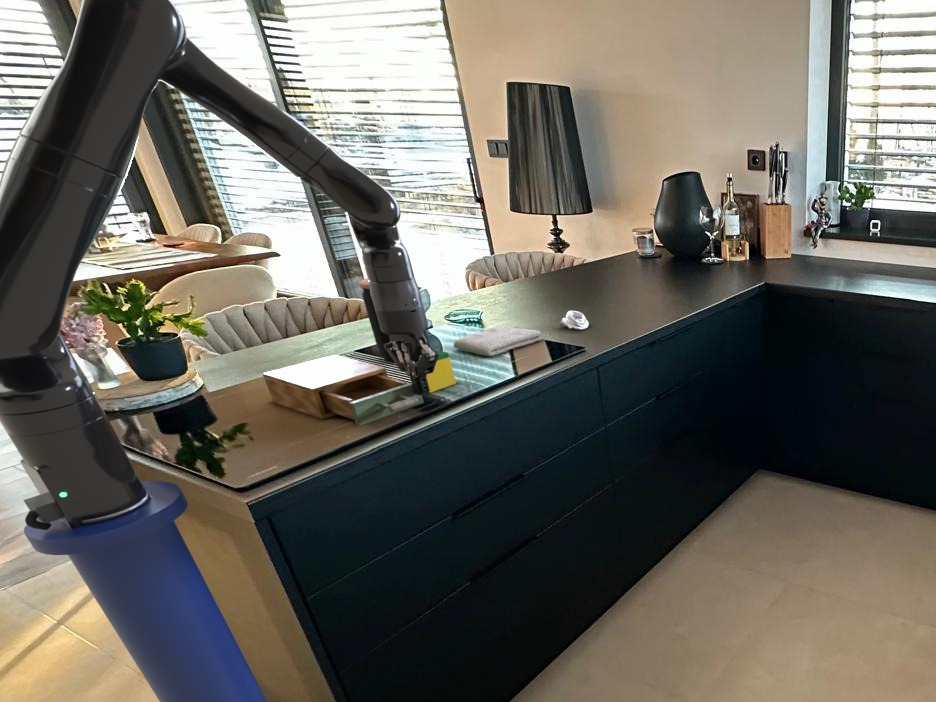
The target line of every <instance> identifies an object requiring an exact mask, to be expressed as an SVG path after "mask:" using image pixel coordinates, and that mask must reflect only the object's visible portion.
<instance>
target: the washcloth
mask: <svg viewBox="0 0 936 702" xmlns="http://www.w3.org/2000/svg"><path fill="white" fill-rule="evenodd" d="M542 340H543V338H542V336H541V331H539V330H535V329H526V328H523V327H521V326H518V325H517V326H514V325H506V326H503V327H491V328H489V329H487V330H484V331H480V332H476V333H473V334H470V335H468V336H464V337H459V338H458V339H457V340H455V341H454V342H453V347H454V348H455V349H456V350H458V351H462V352H466V353H473V354H476V355H481V356H485V357H493V356H496V355H499V354H502V353H505V352H508V351H512V350H513V349H516V348H520V347H524V346H527V345H531V344H533V343H535V342H540V341H542Z"/></svg>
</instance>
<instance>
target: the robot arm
mask: <svg viewBox="0 0 936 702" xmlns="http://www.w3.org/2000/svg"><path fill="white" fill-rule="evenodd" d="M80 1H81V2H80V8H79V12H78V16H77V20H76V23H75V24H76V25H75V28H74V32H73V35H72V38H71V42H70V45H69V49H68V50H67V53H66V56H65V59H64V61H63V62H62V64H61V67H60V69H59V70H58V71H57V72H56V74H55V76H54V77H53V79H52V80H51V81H50V83H49V84H48V86H47V87H46V88H45V89H44V91H43V93H42V94H41V95H40V97H39V98H38V100H37V102H36V103H35V105H34V106H33V109H32V110H31V111H30V113H29V115H28V116H27V118H26V120H25V122H24V124H23V126H22V127H21V128H20V130H19V133H18V135H17V136H16V139H15V142H14V144H13V146H12V148H11V150H10V152H9V154H8V157H7V159H6V162H5V163H4V166H3V171H2V172H1V177H0V424H1V426H2V427H3V429H4V431H5V432H6V434H7V435H8V438H9V439H10V440H11V442H12V444H13V445H14V447H15V448H16V450H17V452H18V453H19V455H20V456H21V459H20V461H19V462H20V464H21V466H22V468H23V469H24V471H25V473H26V475H28V478H29V479H30V481H31V482H32V484H33V486H34V488H35V489H36V490H37V492H38V493H39V494H38V495H35V496H32V497H29V498H25V499H23V502H24V504H25V505H26V508H28V510H29V511H28V512H27V514H26V516H25V519H24V522H25V525H28V526H29V527H32V528H35V529H42V530H48V529H49V528H50V527H51V525H52V524H50V523H49V522H52V521H55V520H58V521H60V522H61V523H62V524H64V525H66V526H68V527H70V528H71V529H75V528H78V527H81V526H84V525H90V524H95V523H100V522H104V521H108V520H112V519H115V518H118V517H121V516H124V515H126V514H129V513H131V512H133V511H135V510H137V509H139V508H140V507H142V506H144V505H145V504H146V503H147V502H148V501H149V499H150V495H149V493H148V491H147V490H145V487H144V485H143V484H142V482H143V481H142V480H141V479H140V477H139V474H138V473H137V471H136V469H135V467H134V464H133V463H132V461H131V459H130V457H129V456H128V453H127V452H126V450H125V448H124V446H123V444H122V442H121V441H120V438H119V436H118V435H117V433H116V431H115V429H114V427H113V425H112V424H111V421H110V420H109V418H108V416H107V414H106V412H105V410H104V408H103V407H102V404H101V403H100V400H99V399H98V396H97V395H96V393H95V391H94V389H93V388H92V385H91V382H90V380H88V377H87V376H86V374H85V373H84V371H83V370H82V367H80V365H79V363H78V362H77V360H76V359H75V357H74V355H73V354H72V352H71V350H70V348H69V346H68V344H67V343H66V341H65V339H64V337H63V335H62V333H61V327H62V322H63V319H64V315H65V310H66V306H67V302H68V299H69V296H70V293H71V289H72V286H73V282H74V280H75V277H76V273H77V271H78V269H79V266H80V264H81V263H82V261H83V260H84V257H85V256H86V254H87V253H88V251H89V250H90V248H91V247H92V244H93V242H94V241H95V240H96V238H97V237H98V234H99V233H100V230H101V229H102V227H103V226H104V223H105V221H106V219H107V218H108V215H109V214H110V212H111V210H112V209H113V206H114V204H115V202H116V200H117V198H118V196H119V194H120V191H121V189H122V187H123V186H124V183H125V179H126V178H127V176H128V172H129V170H130V167H131V164H132V160H133V158H134V154H135V151H136V147H137V143H138V139H139V135H140V131H141V126H142V121H143V118H144V117H143V116H144V113H145V110H146V106H147V104H148V102H149V99H150V98H151V95H152V93H153V91H154V90H155V88H156V87H157V85H158V84H159V82H160V81H161V82H163V83H165V84H166V85H168V86H170V87H171V88H173V89H174V90H176V91H178V92H179V93H181V94H182V95H184V96H185V97H187V98H189V99H190V100H192V101H193V102H195V103H196V104H198V105H199V106H200V107H202V108H204V109H205V110H206V111H208V112H209V113H211V114H212V115H214V116H215V117H216V118H218V119H219V120H221V121H222V122H223V123H224V124H226V125H227V126H229V127H230V128H231V129H233V130H234V131H236V133H238V134H239V135H240V136H242V137H243V138H245V139H246V140H247V141H248V142H250V143H251V144H252V145H254V146H255V147H256V148H257V149H259V150H260V151H262V152H263V153H264V154H266V156H268V157H269V158H271V159H272V160H274V162H276V163H277V164H279V165H280V166H281V167H283V168H284V169H286V171H288V172H290V173H291V174H292V175H294V176H295V177H296V178H298V179H299V180H301V181H302V182H303V183H305V184H306V185H308V186H310V187H311V188H313V189H315V190H316V191H318V192H320V193H321V194H323V195H324V197H326V198H328V199H329V200H330V201H331V202H333V203H334V204H335V205H336V206H337V207H339V208H340V209H341V210H343V211H344V212H345V213H346V215H347V218H348V221H349V224H350V227H351V229H352V231H353V234H354V235H355V236H354V237H355V239H356V241H357V244H358V246H359V249H360V253H361V258H362V263H363V267H364V270H365V273H366V277H367V278H368V280H369V286H370V293H371V297H372V301H373V304H374V308H375V311H376V315H377V318H378V322H379V325H380V329H381V331H382V332H383V333H385V334H389V338H390V340H391V341H390V343H386V344H384V348H385V349H386V351H387V352H388V353H389V355H390V356H391V358H392V359H393V361H394V362H393V363H394V364H395V365H396V367H398V370H399V371H400V372H402V373H403V372H405V374H406V376H408V377H409V380H410V383H411V382H412V386H413V390H414V393H415V394H417V395H420V396H422V397H423V396H425V395H429V394H430V393H431V392H430V389H429V385H428V381H427V377H426V375H427V374H429V373H433V371H434V368H435V365H436V362H437V359H438V356H439V353H438V351H437V350H438V349H433V350H434V351H433V350H431V349H430V348H431V347H430V348H429V347H428V346H427V344H428V343H427V340H426V338H425V336H424V334H423V332H424V330H425V329H426V330H427V329H428V327H429V323H428V318H427V315H426V311H425V306H424V302H423V299H422V298H423V297H422V295H421V291H420V288H419V286H418V283H417V281H416V278H415V275H414V270H413V266H412V262H411V259H410V258H411V257H410V256H409V253H408V252H409V251H408V250H407V248H406V246H405V245H404V244H403V242H402V240H401V236H400V231H399V228H398V223H399V221H400V220H401V207H400V204H399V202H398V200H397V199H396V198H395V196H394V194H392V193H391V192H390V191H388V190H387V188H385V187H383V185H381V184H379V183H378V182H377V181H376V180H375V179H373V178H371V176H369V175H368V174H366V173H364V172H363V171H362V170H360V169H359V168H357V167H356V166H355V165H353V164H352V163H350V162H349V161H347V160H346V158H344V157H343V156H342V155H341V154H340V153H339V152H338V151H337V150H335V148H333V147H332V146H331V145H330V144H328V143H327V142H326V141H325V140H323V139H322V138H321V137H320V136H318V135H317V134H316V133H314V131H312V130H311V129H310V128H308V127H307V126H306V125H305V124H304V123H302V122H301V121H300V120H298V118H295V117H294V116H292V115H291V114H290V113H288V112H287V111H285V110H284V109H282V108H281V107H279V106H278V105H276V104H274V103H273V102H272V101H269V100H268V99H267V98H266V97H263V96H262V95H261V94H259V93H257V92H256V91H255V90H253V89H251V88H250V87H248V86H247V85H245V84H244V83H243V82H241V81H240V80H238V79H237V78H235V77H234V76H233V75H231V74H230V73H229V72H228V71H226V70H225V69H224V68H223V67H221V65H219V64H218V63H216V62H215V61H214V60H213V59H212V58H210V57H209V55H207V54H206V53H205V52H204V51H203V50H202V49H200V48H199V46H198V45H197V44H195V42H193V40H192V39H190V38H189V36H188V35H187V30H186V28H187V27H186V25H185V21H184V20H183V17H182V15H181V12H180V11H179V10H178V8H177V6H176V5H175V4H174V2H173V1H172V0H80ZM37 518H38V519H39V520H41V521H43V522H39V521H37V520H36V519H37Z"/></svg>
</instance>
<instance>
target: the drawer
mask: <svg viewBox="0 0 936 702" xmlns="http://www.w3.org/2000/svg"><path fill="white" fill-rule="evenodd" d="M319 395H320V398H321V401H322V404H323V406H324V409H325V410H327V411H330V412H333V413H336V414H338V415H339V416H341V417H345V418H348V419H350V420H354V422H355V424H356V425H357V426H362V425H365V424H369V423H371V422H374V421H377V420H380V419H383V418H385V417H388V416H391V415H394V414H396V413H399V412H403V411H404V410H407V409H411V408H413V407H416V406H419V405H422V404H425V402H424V398H423V396H420V395H417V394H415V393H414V390H413V386H412V382H411V381H410V382H407V381H405V380H401V379H398V378H394V377H389V376H388V377H386V376H383V375H379V374H376V375H373V376H369V377H366V378H363V379H359V380H356V381H352V382H349V383H346V384H342V385H339V386H336V387H332V388H329V389H326V390H322V391H319Z"/></svg>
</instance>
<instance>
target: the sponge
mask: <svg viewBox="0 0 936 702" xmlns="http://www.w3.org/2000/svg"><path fill="white" fill-rule="evenodd" d="M434 350H435V349H433V350H432V351H434ZM436 350H437V351H438V353H439V356H438V359H437V362H436V365H435V368H434V371H433V373H429V374H427V375H426V377H427V381H428V385H429V389H430V393H434V392H436V391H439V390H441V389H445V388H448V387H450V386H453V385H456V384H457V382H456V378H455V374H454V370H453V369H454V368H453V365H452V362H451V357H450V353H449V352H446V351H443V350H440V349H436Z"/></svg>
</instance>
